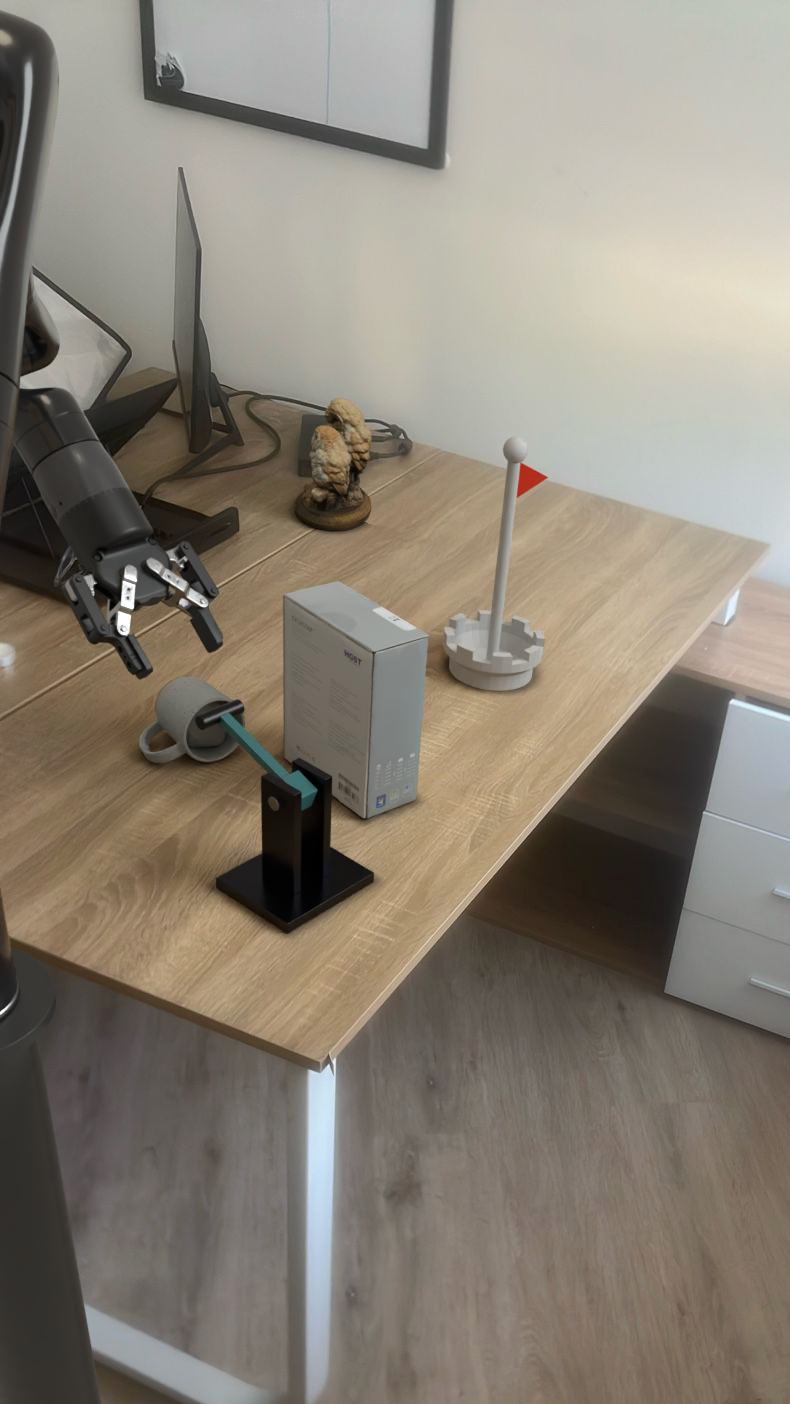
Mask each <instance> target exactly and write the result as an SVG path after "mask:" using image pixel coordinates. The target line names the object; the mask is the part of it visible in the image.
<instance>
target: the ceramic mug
mask: <svg viewBox="0 0 790 1404" xmlns="http://www.w3.org/2000/svg"><path fill="white" fill-rule="evenodd" d="M231 701H234V699H232V698H230V697H229V696H227V695H226V694H225V693H223V692H222V691H220V690H219V689H218V688H216V687H215V686H213V685H212V684H210V683H209V682H207V681H206V680H204V679H201V678H199V677H196V676H191V675H181V676H177V677H175V678H173V679H171V680H169V681H168V682H167V683H165V685H163V686H162V688H161V689H160V691H158V694H157V697H156V699H155V704H154V712H155V716H156V720H155V721H154V722H152V723H151V724H149V725H148V726H147V727H146V728H145V729H144V730H143V732H141V734H140V736H139V739H138V746H139V748H140V751H141V752H142V754H143V756H145V759H147V760H148V761H149V762H151V763H153V764H165V763H169V762H172V761H174V760H176V759H178V758H180V757H182V756H183V755H185V754H187V755H188V756H189V757H191V758H192V759H194V760H195V761H197V762H202V763H214V762H218V761H220V760H223V759H225V758H227V757H229V756H230V755H231V754H232V753H233V752H234V751H235V750H236V749H237V747H238V746H239V744H238V743H237V742H236V741H235V740H234V739H233V738H232V737H231V736H230V735H229V734H228V733H227V732H226V731H225V730H224V729H223V728H222V727H221V726H220V725H219V724H217V725H214V726H212V727H210V728H207V729H205V730H200V729H199V728H198V727H197V725H196V723H195V718H196V716H198V715H200V714H203V713H205V712H207V711H210V710H212V709H215V708H217V707H219V706H222V705H224V704H226V703H229V702H231ZM233 718H234V719H235V720H236V721H237V722H238V723H239V724H240V725H241V726H242V727H243V728H244V729H245V728H246V727H245V726H246V725H245V723H246V722H245V716H244V713H242V714H240V715H238V716H235V717H233ZM163 731H164V732H165V733H166V734H167V735H168V736H169V737H170V738H172V739H173V741H175V743H176V744H174V745H172V746H170V747H167V748H165V749H161V750H158V751H151V750H150V749H151V748H150V746H149V745H150V743H151V742H152V740H153V739H154V738H156V736H158V735H159V734H160V733H161V732H163Z"/></svg>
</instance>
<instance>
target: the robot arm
mask: <svg viewBox="0 0 790 1404" xmlns="http://www.w3.org/2000/svg"><path fill="white" fill-rule="evenodd" d="M58 60H59V59H58V56H57V52H56V47H55V44H54V42H53V39H52V38H51V37H50V35H49V34H48V32H47V31H46V30H45V29H44V28H43V27H42V26H40V25H38V24H37V23H35V22H33V21H31V20H28V19H26V18H25V17H22V16H18V15H16V14H13V13H10V12H7V11H5V10H0V535H1V532H2V524H3V523H2V522H3V514H4V506H5V498H6V493H7V485H8V479H9V472H10V465H11V459H12V454H13V453H12V452H13V446H14V447H15V448H16V450H17V452H18V454H19V456H20V457H21V458H22V461H23V463H24V464H25V465H26V467H27V469H28V471H29V472H30V475H31V476H32V478H33V480H34V482H35V484H36V486H37V489H38V491H39V493H40V496H41V498H42V500H43V502H44V504H45V506H46V508H47V509H48V511H49V513H50V515H51V516H52V518H53V519H54V521H55V523H56V525H57V527H58V528H59V530H60V532H61V533H62V535H63V537H64V538H65V540H66V542H67V544H68V546H69V547H70V549H71V551H72V553H73V555H74V556H75V558H76V559H77V561H78V562H79V565H80V566H81V567H83V568H84V569H86V572H87V575H82V574H81V573H78V572H75V573H73V574H71V576H70V577H69V579H68V580H67V581H66V582H65V583H64V584H63V586H62V587H61V592H62V593H63V595H64V598H65V599H66V601H67V603H68V605H69V608H70V610H71V611H72V612H73V615H74V616H75V619H76V621H77V622H78V624H79V626H80V628H81V630H82V632H83V634H84V636H85V638H86V640H87V641H88V643H90V645H96V646H97V645H98V644H99V643H100V644H109V645H111V646H112V647H113V648H114V649H115V651H116V653H117V655H118V656H119V658H120V659H121V661H122V663H123V664H124V666H125V668H126V670H127V671H128V673H130V675H132V676H135V677H136V679H138V680H144V679H145V678H147V677H149V676H150V675H151V674H152V673H153V672H154V667H153V665H152V663H151V662H150V660H149V658H148V656H147V654H146V653H145V650H144V649H143V647H142V645H141V644H140V643H139V640H138V639H137V638H136V635H135V634H134V633H132V634H130V631H131V621H132V620H131V618H132V614H133V613H135V612H138V611H140V610H141V609H142V608H143V607H152V606H156V605H158V604H159V603H162V604H164V605H166V606H167V607H169V608H176V609H177V610H179V611H180V612H182V613H183V614H186V615H187V616H188V617H190V619H189V623H190V624H191V626H192V627H193V630H194V631H195V633H196V635H197V636H198V638H199V641H200V642H201V644H202V645H203V647H204V649H205V651H206V652H207V653H208V654H212V653H214V652H217V651H218V650H220V648H222V647H223V646H224V641H223V639H224V635H223V632H222V630H221V628H220V627H219V625H218V623H217V622H216V619H215V617H214V616H213V613H212V612H211V610H210V604H211V603H212V602H213V601H215V599H216V598H217V597H218V596H219V595H220V590H219V588H218V586H217V584H216V583H215V581H214V580H213V578H212V576H211V575H210V573H209V572H208V571H207V568H206V567H205V565H204V563H203V562H202V561H201V559H200V557H199V556H198V554H197V552H196V550H195V549H194V548H193V545H191V543H190V542H189V541H187V540H183V541H181V542H180V543H179V544H177V546H175V547H174V548H170V549H168V550H164V549H163V548H162V547H160V545H159V544H158V543H157V541H156V538H155V533H154V529H153V527H152V525H151V524H150V521H149V520H148V518H147V516H146V514H145V513H144V511H143V509H142V508H141V506H140V504H139V502H138V500H137V498H136V497H135V495H134V493H133V491H132V490H131V488H130V486H129V484H128V483H127V481H126V479H125V477H124V476H123V474H122V472H121V471H120V469H119V468H118V466H117V464H116V462H115V461H114V459H113V458H112V456H111V455H110V454H109V453H108V451H107V450H106V449H105V447H104V446H103V443H102V442H101V441H100V439H99V437H98V435H97V433H96V432H95V430H94V428H93V426H92V424H91V422H90V421H89V419H88V417H87V416H86V414H85V412H84V410H83V408H82V406H81V405H80V403H79V402H78V401H77V398H76V397H75V396H74V395H73V394H72V393H71V392H70V391H69V390H67V389H65V388H62V387H57V386H52V387H50V386H48V387H37V388H36V387H35V388H23V387H21V378H22V377H24V376H28V375H30V374H32V373H33V374H34V373H36V372H38V371H42V370H43V369H45V368H47V367H48V366H50V365H51V364H52V363H53V362H54V361H55V359H57V356H58V355H59V351H60V346H61V344H60V343H61V341H60V335H59V331H58V329H57V326H56V324H55V322H54V320H53V317H52V315H51V314H50V312H49V310H48V309H47V307H46V306H45V304H44V302H43V301H42V300H41V298H40V296H39V295H38V292H37V290H36V287H35V284H34V283H35V281H34V271H33V255H34V254H33V253H34V249H35V243H36V237H37V232H38V231H37V230H38V225H39V219H40V213H41V208H42V204H43V198H44V192H45V187H46V181H47V176H48V170H49V165H50V160H51V159H50V158H51V154H52V149H53V148H52V147H53V141H54V134H55V130H56V129H55V127H56V121H57V115H58V105H59V104H58V103H59V93H60V92H59V91H60V89H59V88H60V72H59V61H58ZM171 567H172V570H173V571H174V572H178V574H179V575H180V576H179V575H177V574H176V573H174V572H173V571H172V570H171ZM170 588H171V589H172V590H170ZM96 592H97V593H98V594H100V595H101V596H103V597H105V599H107V604H106V617H105V616H104V613H103V612H102V610H101V608H100V606H99V604H98V602H97V600H96V598H95V595H96V594H95V593H96ZM9 934H10V933H9V927H8V923H7V918H6V912H5V907H4V901H3V895H2V891H1V888H0V1022H1V1021H3V1020H4V1019H5V1018H6V1017H8V1016H9V1015H10V1014H11V1012H12V1011H13V1010H14V1009H15V1007H16V1005H17V1003H18V1001H19V998H20V987H19V982H18V978H17V975H16V969H15V966H14V961H13V955H12V950H11V947H12V944H11V939H10V935H9Z"/></svg>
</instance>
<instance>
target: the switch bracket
mask: <svg viewBox="0 0 790 1404" xmlns="http://www.w3.org/2000/svg"><path fill="white" fill-rule="evenodd" d="M298 770H299V771H300V772H301V773H302V774H303V775H304V776H305V777H306V778H307V779H308V780H309V781H310V782H311V783H312V784H313V785H314V786H315V787H316V788H317V790H318V791H317V793H316V796H315V798H314V801H313V803H312V806H310V807H308V808H306V809H304V810H302V792H301V791H299V790H298V789H296V788H294V787H293V786H291V785H289V784H287V783H286V782H284V781H282V780H280V779H279V778H277V777H275V776H274V775H272V774H270V773H267V772H265V773H264V774H263V775H261V776H260V807H261V809H260V813H261V814H260V816H261V819H260V820H261V853H260V854H257V855H256V856H254V857H252V858H250V859H248V860H246V861H245V862H243V863H240V864H238V865H237V866H235V867H233V868H231V869H230V870H227V871H225V872H224V873H222V874H220V875H218V876H216V877H215V888H216V889H218V890H219V891H222V893H224V894H226V895H227V896H229V897H230V898H232V899H234V900H235V901H236V902H238V903H240V904H241V905H243V906H244V907H246V908H247V909H249V910H250V911H252V912H253V913H255V914H256V915H258V916H259V917H261V918H263V919H265V921H267V922H269V923H271V924H272V925H274V927H277V928H278V929H280V930H281V931H283V932H285V934H290V933H291V932H293V931H295V930H296V929H298V928H300V927H302V926H303V925H305V924H306V923H308V922H310V921H312V920H313V919H315V918H316V917H318V916H320V915H322V914H323V913H325V912H326V911H329V910H330V909H332V908H333V907H335V906H337V905H338V904H340V903H341V902H343V901H345V900H346V899H348V898H349V897H352V896H353V895H355V894H357V893H358V892H360V891H361V890H363V889H364V888H366V887H368V886H369V885H372V884H373V883H374V882H375V872H374V871H373V870H371V869H369V868H367V867H366V866H364V865H362V864H361V863H359V862H357V861H355V860H354V859H352V858H350V857H349V856H347V855H345V854H343V853H342V852H340V851H339V850H337V849H335V848H333V847H332V845H331V842H332V841H331V840H332V807H333V806H332V805H333V801H332V800H333V799H332V798H333V795H332V776H331V775H329V774H327V773H326V772H324V771H322V770H320V769H319V768H317V767H315V766H313V765H312V764H310V763H308V762H306V761H305V760H303V759H301V758H297V759H295V760H293V761H292V763H291V773H293V772H296V771H298Z"/></svg>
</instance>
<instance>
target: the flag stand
mask: <svg viewBox="0 0 790 1404" xmlns="http://www.w3.org/2000/svg"><path fill="white" fill-rule="evenodd" d="M502 453H503V456H504V458H505V459H506V461H507V464H506V465H507V466H506V473H505V483H504V492H503V499H502V500H503V502H502V510H501V518H500V519H501V520H500V529H499V538H498V547H497V556H496V565H495V574H494V583H493V591H492V601H491V610H487V609H486V610H485V609H483V610H481V609H478V610H477V614H476V615H477V616H476V618H467V617H468V616H467V615H465V614H464V613H462V612H461V613H460V612H459V613H457V614H455V615H453V616H451V617H449V620H448V626H444V628H443V637H442V646H443V651H444V653H446V655H447V656H448V657H449V661H448V662H449V663H448V668H449V672H450V673H451V675H452V677H454V678H455V679H456V680H458V681H459V682H461V683H463V684H465V685H468V686H470V687H472V688H477V689H479V690H480V689H481V690H484V691H485V690H486V691H494V692H495V691H496V692H504V691H513V690H516V689H520V688H522V687H524V686H526V685H528V683H530V681H531V680H532V676H533V673H534V672H533V670H534V668H535V667H536V666H538V665H539V664H540V663H541V661H542V660H543V655H544V649H545V641H546V638H545V637H546V636H545V634H544V632H543V630H542V629H538V630H537V629H535V630H533V631H532V630H531V623H532V621H531V620H529V619H527V618H524V617H522V616H519V615H516V614H514V615H513V616H512V617H511V621H508V620H504V619H503V617H504V607H505V600H506V591H507V582H508V575H509V565H510V556H511V550H512V549H511V547H512V541H513V540H512V539H513V531H514V521H515V514H516V504H517V499H518V498H520V497H521V496H523V495H524V494H525V493H527V492H529V491H530V490H531V489H533V488H535V487H536V486H538V485H539V484H542V482H544V481H545V480H547V479H548V478H549V476H547V475H545V474H543V473H541V472H539V471H537V470H536V469H534V468H532V467H530V466H528V465H527V464H525V463H523V461H525V460H526V458H527V456H528V453H529V447H528V444H527V442H526V441H525V439H524V438H521V437H519V436H512V437H510V438H507V439H506V440H505V442H504V444H503V446H502Z"/></svg>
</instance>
